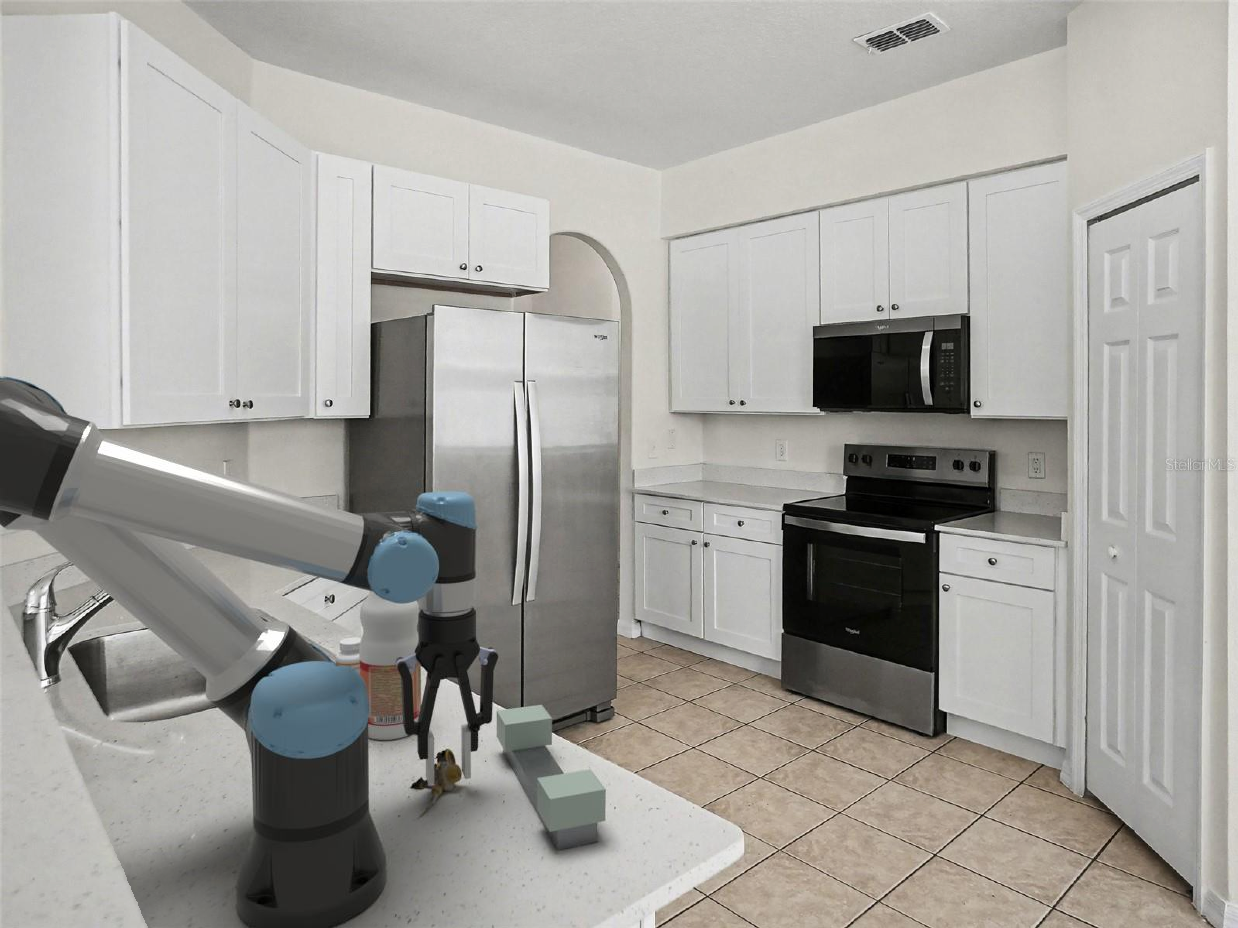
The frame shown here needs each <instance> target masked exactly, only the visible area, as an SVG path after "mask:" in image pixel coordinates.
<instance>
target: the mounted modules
mask: <svg viewBox="0 0 1238 928" xmlns="http://www.w3.org/2000/svg"><path fill="white" fill-rule="evenodd" d="M496 738H497V739H498V741H499V743H500V745H501V747H502V750H503V749H504V751H505V752H507V751H513V750H520V749H526V748H533V747H540V746H546V747H547V746H551V745H553V744H552V743H553V718H552V716H551V715H550V713H549V712H548V711H547V710H546V709H545V707H544V706H543V705H542V704H537V705H536V704H535V705H530V706H523V707H515V708H507V709H499V710H496ZM606 790H607V789H606V788H605V786H604V785H603V783H602V782H601V781H600V780H599V778H598V776H596V774H595V773H594V771H592V769H584V770H578V771H571V772H566V773H564V774H559V775H553V776H547V777H541V778H537V810H538V812H539V813H540V815H541V817H542V819H543V821H544V822H545V824H546V826H547V828H548V830H549V831H550V832H551V831H556V830H561V829H567V828H572V827H577V826H582V825H587V824H592V823H601V822H605V821H606V808H607V807H606V803H607V802H606V801H607V800H606V795H607V793H606Z"/></svg>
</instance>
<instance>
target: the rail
mask: <svg viewBox="0 0 1238 928" xmlns="http://www.w3.org/2000/svg"><path fill="white" fill-rule="evenodd" d="M502 752H503V755H504V756H505V757H506V759H507V761H508V763H509V765H510V767H511V769H512V771H513V772H514V774H515V775H516V778H517V779H518V781H519V783H520V784H521V786H522V788H523V790H524V792H525V794H526V795H527V798H528V799H529V801H530V804H532V807H533V808H534V810H535V812H536V814H537V815H538V817H539V819H540V821H541V823H542V824H543V826H544V828H545V830H546V833H548V836H549V838H550V839H551V841H552V843H553V844H554V846H555V848H556V850H557V851H561V850H567V849H570V848H575V847H580V846H586V845H591V844H596V843H598V826H599V825H598V823H599V822H598V823H592V824H587V825H582V826H577V827H572V828H567V829H561V830H556V831H551V832H550V831H549V830H548V828H547V826H546V824H545V822H544V821H543V819H542V817H541V815H540V813H539V812H538V810H537V778H541V777H547V776H553V775H559V774H565V773H564V771H563V769H562V768H561V767H560V765H559V764H558V762H557V761H556V759H555V757H554V756H553V755H552V753H551V752H550V750H549V749H548V748H547V745H546V746H540V747H533V748H526V749H520V750H513V751H507V752H505V751H504V749H503V748H502Z"/></svg>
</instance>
